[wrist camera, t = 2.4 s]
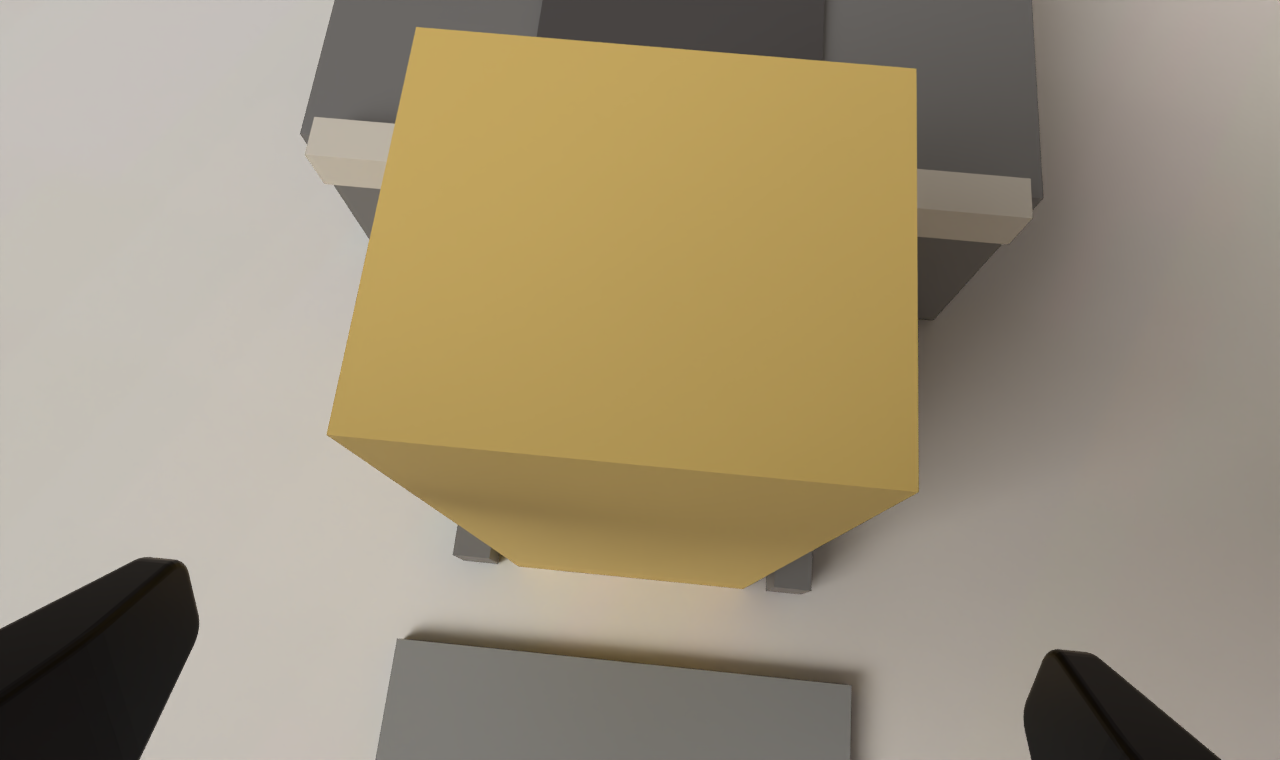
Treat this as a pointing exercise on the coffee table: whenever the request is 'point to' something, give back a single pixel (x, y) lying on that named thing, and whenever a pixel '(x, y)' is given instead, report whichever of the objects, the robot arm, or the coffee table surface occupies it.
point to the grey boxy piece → (753, 25)
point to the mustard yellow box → (641, 303)
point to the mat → (599, 710)
